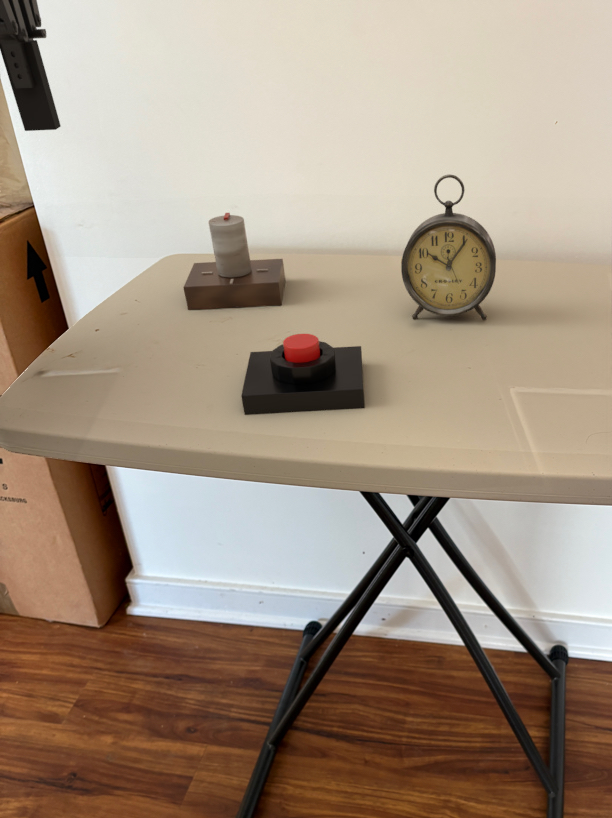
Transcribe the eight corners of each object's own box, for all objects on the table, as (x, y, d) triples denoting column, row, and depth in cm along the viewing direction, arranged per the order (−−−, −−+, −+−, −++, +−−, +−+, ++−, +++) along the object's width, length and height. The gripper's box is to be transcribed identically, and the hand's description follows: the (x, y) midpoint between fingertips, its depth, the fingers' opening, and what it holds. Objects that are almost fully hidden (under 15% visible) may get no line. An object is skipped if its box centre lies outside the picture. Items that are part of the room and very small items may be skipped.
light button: (284, 365, 76) (281, 349, 75) (286, 350, 79) (283, 334, 78) (320, 363, 76) (318, 347, 75) (320, 348, 79) (319, 332, 78)
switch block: (244, 415, 76) (238, 379, 73) (253, 370, 83) (247, 336, 81) (364, 408, 76) (362, 372, 73) (362, 364, 84) (360, 330, 81)
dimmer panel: (188, 310, 97) (182, 285, 95) (198, 284, 104) (193, 261, 102) (281, 305, 98) (278, 280, 96) (285, 280, 105) (282, 257, 103)
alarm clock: (402, 324, 92) (397, 180, 82) (407, 307, 96) (404, 168, 86) (492, 326, 91) (499, 180, 81) (494, 308, 95) (500, 168, 85)
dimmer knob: (250, 276, 98) (241, 221, 93) (215, 278, 97) (205, 223, 93) (253, 265, 101) (244, 211, 97) (219, 266, 101) (210, 213, 97)
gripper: (-83, -234, 58) (23, 116, 72) (-173, -269, 47) (-28, 146, 62) (18, -236, 58) (103, 113, 73) (-51, -272, 48) (65, 142, 63)
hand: (42, 128), depth 67 cm, fingers closed
